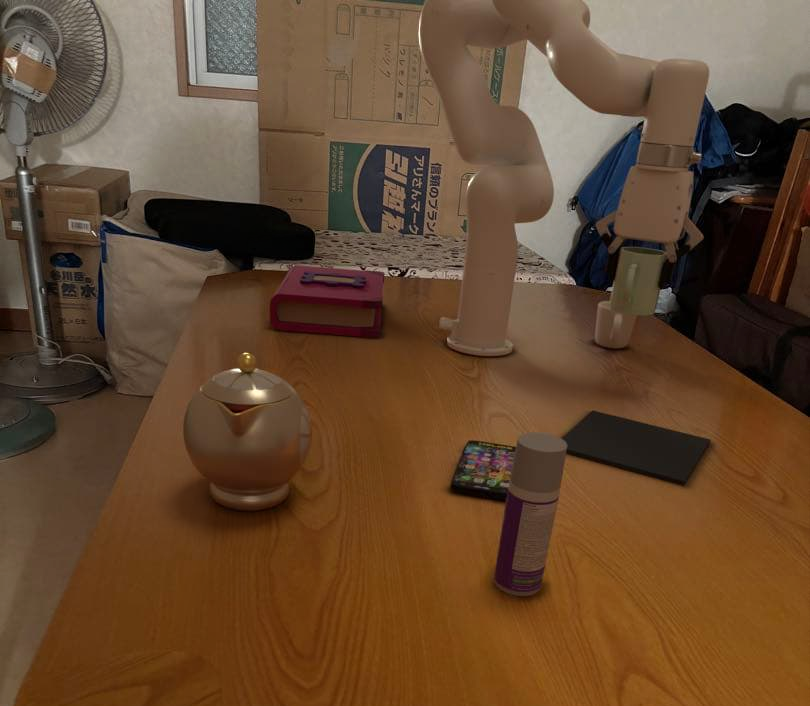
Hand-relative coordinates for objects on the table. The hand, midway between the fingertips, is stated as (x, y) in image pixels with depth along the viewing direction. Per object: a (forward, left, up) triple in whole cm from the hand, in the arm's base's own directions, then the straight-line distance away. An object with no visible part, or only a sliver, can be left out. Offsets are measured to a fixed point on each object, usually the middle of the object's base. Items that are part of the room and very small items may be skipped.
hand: (637, 282), depth 122 cm
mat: (+9, -22, -18) cm, 30 cm away
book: (-62, +6, -18) cm, 65 cm away
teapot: (-24, -66, -18) cm, 72 cm away
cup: (-9, +28, -18) cm, 35 cm away
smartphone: (-4, -44, -18) cm, 48 cm away
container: (+9, -66, -18) cm, 69 cm away
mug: (0, -1, -4) cm, 5 cm away
